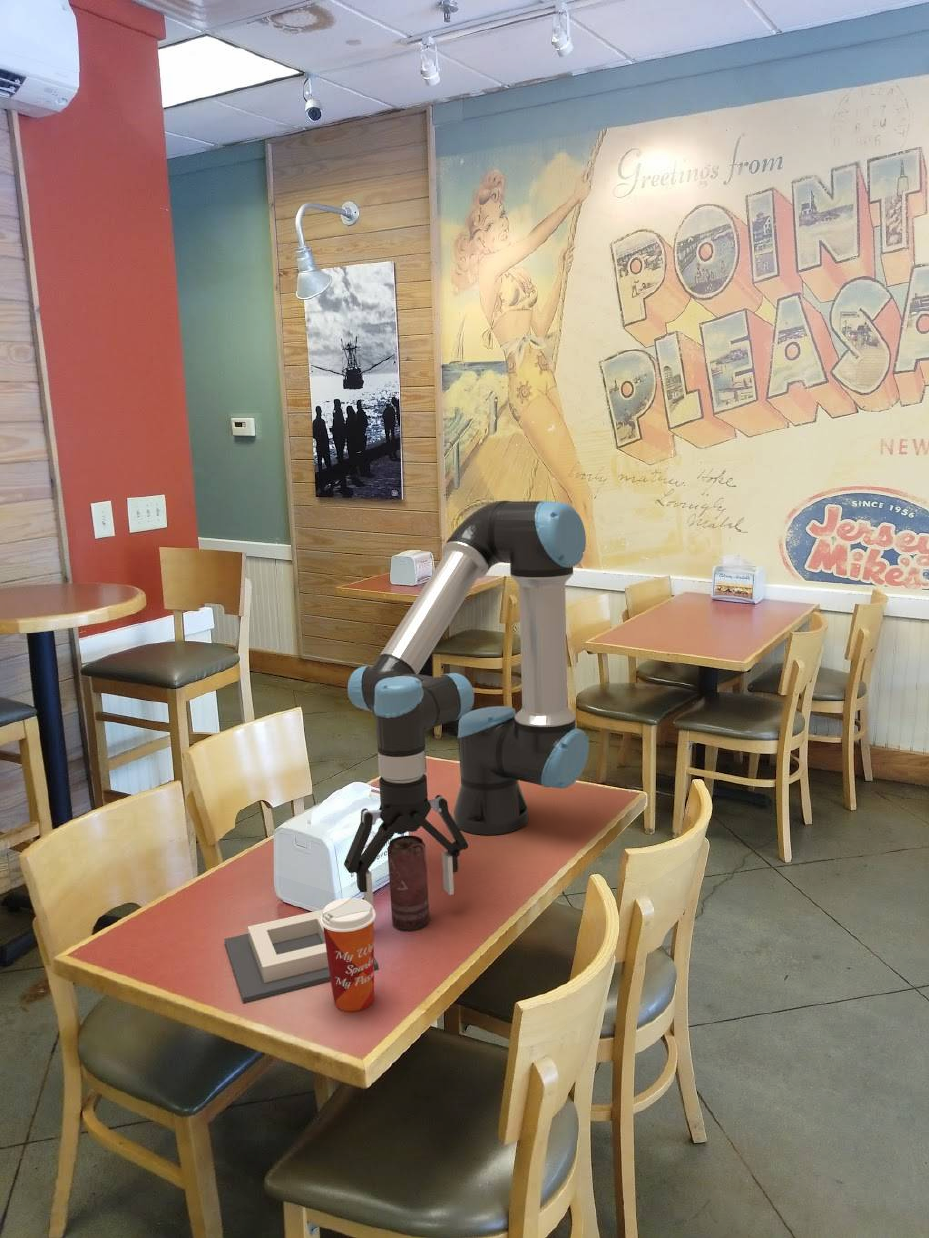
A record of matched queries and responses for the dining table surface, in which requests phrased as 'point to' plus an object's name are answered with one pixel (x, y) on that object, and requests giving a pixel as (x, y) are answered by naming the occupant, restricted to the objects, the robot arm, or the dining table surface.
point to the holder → (291, 961)
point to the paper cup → (350, 952)
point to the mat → (252, 978)
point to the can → (408, 882)
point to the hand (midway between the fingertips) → (409, 900)
